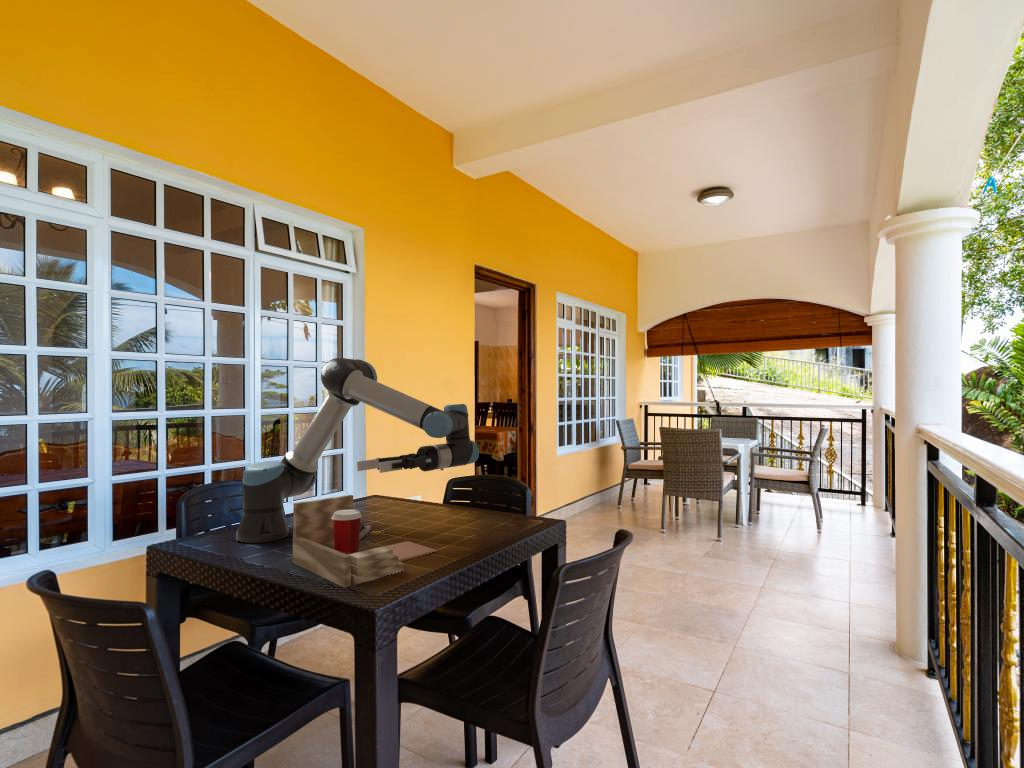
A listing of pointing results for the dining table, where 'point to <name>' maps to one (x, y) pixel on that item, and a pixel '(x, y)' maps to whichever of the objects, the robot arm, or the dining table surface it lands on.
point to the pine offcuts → (373, 564)
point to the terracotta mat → (409, 550)
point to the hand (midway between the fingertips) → (368, 467)
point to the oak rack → (320, 539)
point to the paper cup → (346, 531)
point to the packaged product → (363, 529)
